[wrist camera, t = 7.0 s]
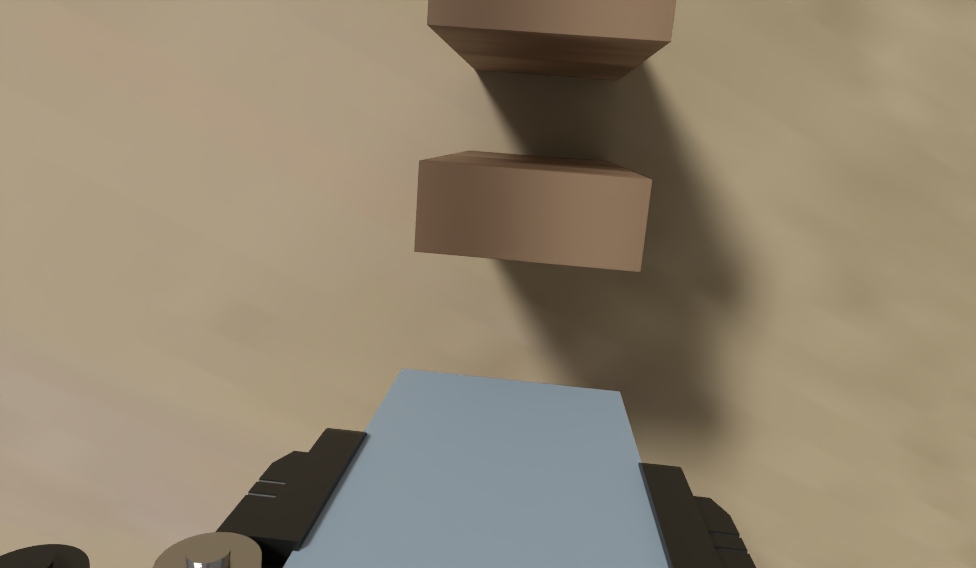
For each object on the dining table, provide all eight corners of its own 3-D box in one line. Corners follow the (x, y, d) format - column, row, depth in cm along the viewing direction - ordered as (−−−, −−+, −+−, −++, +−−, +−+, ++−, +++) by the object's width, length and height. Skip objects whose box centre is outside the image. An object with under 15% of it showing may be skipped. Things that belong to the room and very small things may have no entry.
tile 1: (624, 19, 23) (684, -66, 13) (618, 80, 23) (671, 41, 14) (479, 9, 23) (432, -81, 14) (474, 69, 24) (427, 24, 14)
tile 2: (608, 161, 24) (651, 179, 14) (602, 217, 24) (640, 272, 15) (469, 150, 24) (419, 160, 15) (465, 205, 25) (414, 251, 15)
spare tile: (619, 391, 15) (757, 839, 6) (609, 471, 16) (720, 1018, 6) (402, 368, 16) (169, 756, 6) (397, 447, 16) (173, 932, 6)
